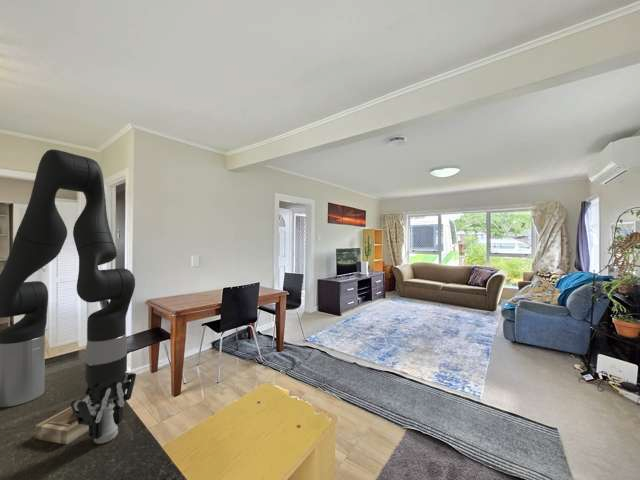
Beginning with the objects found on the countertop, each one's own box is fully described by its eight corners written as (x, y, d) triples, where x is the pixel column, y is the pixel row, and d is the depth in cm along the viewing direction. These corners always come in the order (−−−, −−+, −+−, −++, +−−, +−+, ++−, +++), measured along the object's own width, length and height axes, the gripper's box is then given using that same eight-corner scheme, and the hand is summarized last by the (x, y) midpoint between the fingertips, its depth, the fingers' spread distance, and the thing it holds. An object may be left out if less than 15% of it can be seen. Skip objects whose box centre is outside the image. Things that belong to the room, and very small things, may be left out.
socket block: (35, 438, 62) (35, 425, 62) (77, 413, 71) (77, 402, 71) (66, 444, 60) (67, 430, 60) (106, 418, 69) (106, 406, 69)
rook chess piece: (98, 447, 59) (98, 411, 59) (90, 439, 61) (90, 404, 61) (121, 435, 63) (122, 401, 63) (113, 428, 65) (113, 395, 65)
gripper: (121, 343, 70) (121, 409, 70) (58, 368, 56) (58, 451, 56) (146, 345, 68) (145, 412, 68) (88, 372, 55) (87, 457, 54)
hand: (106, 429), depth 62 cm, fingers closed on rook chess piece, 4 cm apart
